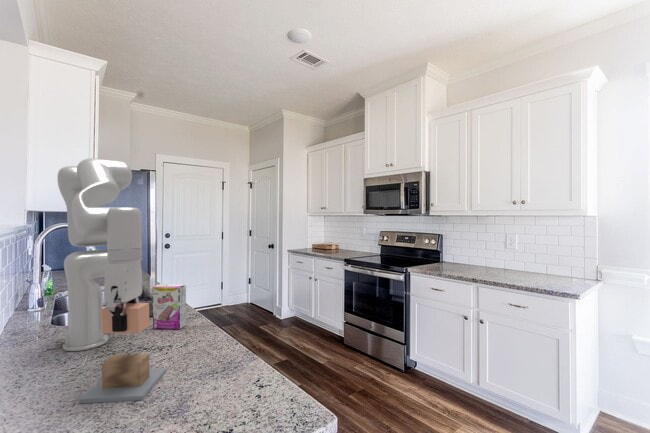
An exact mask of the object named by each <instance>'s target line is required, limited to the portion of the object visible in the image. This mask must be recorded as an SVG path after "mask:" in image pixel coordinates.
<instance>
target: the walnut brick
mask: <svg viewBox="0 0 650 433" xmlns="http://www.w3.org/2000/svg"><path fill="white" fill-rule="evenodd" d="M101 369H102V370H101V376H102V377H101V380H102V388H118V387H138V386H141V385H142V384H143V383H144V382H145V381H146V380H147V379H148V378H149V376H150V375H149V369H150V353H140V354H139V353H137V354H136V353H134V354H113V355H112V356H110V357H109V358H108V359H107V360H105V361H104V362H103V363H101Z"/></svg>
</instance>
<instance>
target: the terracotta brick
mask: <svg viewBox="0 0 650 433" xmlns="http://www.w3.org/2000/svg"><path fill="white" fill-rule="evenodd" d="M117 306H119V307H120V309H121V305H117ZM126 314H127V330H126V331H124V332H113V331H112V316H111V312H110V310H109V309H108V308H107V307H103V309H102V333H103V334H130V333H131V334H137V333H141V332H142V331H143V330H145V329H147V328H148V327H150V317H149V303H126V310H125V315H126Z"/></svg>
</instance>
